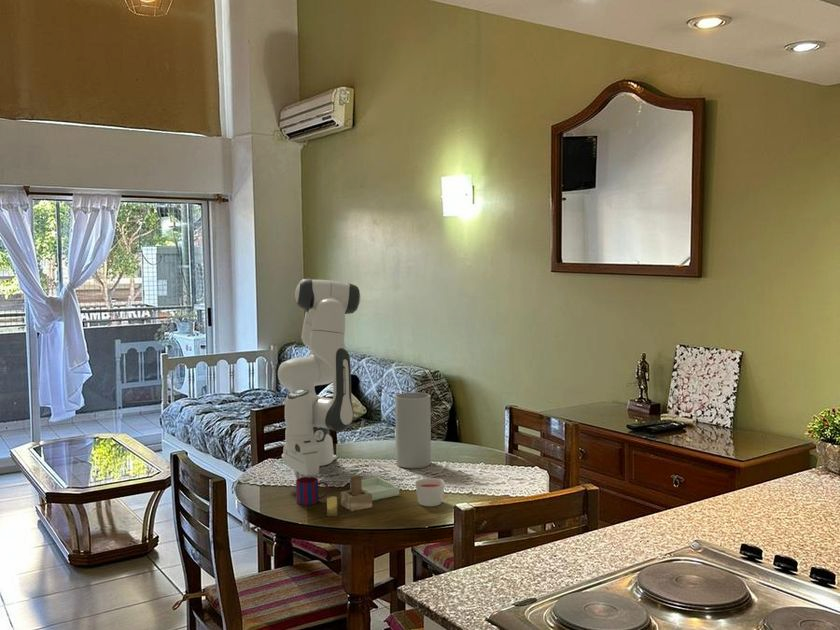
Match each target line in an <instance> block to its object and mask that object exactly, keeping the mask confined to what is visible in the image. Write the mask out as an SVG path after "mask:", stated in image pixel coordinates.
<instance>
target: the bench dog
mask: <svg viewBox="0 0 840 630" xmlns="http://www.w3.org/2000/svg"><path fill="white" fill-rule="evenodd" d="M326 516H328V517H330V516H333V517H336V516H338V497H337V496H328V497H326Z"/></svg>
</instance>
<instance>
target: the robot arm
mask: <svg viewBox="0 0 840 630" xmlns="http://www.w3.org/2000/svg"><path fill="white" fill-rule="evenodd" d="M294 298H295V301H296V305H297V307H299V308H301V309H303V310H304V311H305V314H304V317H303V318H304V319H303V325H302V330H301V331H302V332H301V341H302V343H303V345H304V346H305V347H307V348H309V350H310V353H309V355H307V356H301V357H299V356H298V357H293V358H290V359H288V360H285V361H283V362H281V363H280V365H279V366H278V370H277V378H278V382H279V383H280V384H281V385H282V387H283V388H285V389H286V390H288V392H289V393H288V394H287V395H286V398H285V403H284V421H285V425H286V427H285V431H284V432H285V433H284V434H285V435H284V437H285V438H284V439H285V443H284V444H283V450H282V451H283V453H282V454H281V458H282V459H283V464H284V465H285V466H287V467H289V468H290V469H293V472H294V476H295V479H296V480H297V479H299V478H302V477H308V478H310V477H315V478H317V477H318V476H319V474H320V467H323V466H327V465H329V464H331V463H333V462H334V460H336V459H337V458H338V456H337V455H336V454H334V445H333V444H334V443H333V437H332V436H331V435H329V432H330V431H334V432H338V433H341V432H343V431H345V430H347V429H348V428H349V427H350V425H352V423H353V421H354V416H355V415H354V413H355V412H354V406H353V401H352V369H351V368H352V367H351V366H352V365H351V357H350V354H349V352H348V350H347V348H346V344H345V332H346V315H350V314H354V313H355V312H357V310H358V308H359V306H360V302H361V292H360V289H359V287H358V286H357V285H356V284H352V283H346V282H342V281H338V280H332V279H329V280H327V279H312V278H302V279H301V280H300V281H299V282H298V284H297V285H296V288H295V291H294ZM331 383H332V385H333V387H332V388H333V391H332V392H333V396H332V398H330V397H329V398H328V397H323V396H319V395H318V394H317V393H316V389H315V388H316V386H323V385H329V384H331ZM296 480H295V481H296Z"/></svg>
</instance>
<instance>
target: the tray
mask: <svg viewBox="0 0 840 630" xmlns="http://www.w3.org/2000/svg"><path fill="white" fill-rule="evenodd" d="M349 483H350V484H349V487H350V488H349V490H351V481H350V482H349ZM361 484H362V489H364V490H366V491H368V492H369V493H371V494H372V501H377V500H380V499H381V500H382V499H387V498H390V497H396V496H400V487H399V486H397V485H396V484H393V483H392V482H390V481H388V480H386V479H384V478H382V477H380V476H376V477H370V478H366V479H365V478H364V479H361Z"/></svg>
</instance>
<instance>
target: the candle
mask: <svg viewBox="0 0 840 630" xmlns="http://www.w3.org/2000/svg"><path fill="white" fill-rule="evenodd" d="M414 484H415V489H416V496H417V500H418V501H417V502H418V504H419V505H421V506H423V507H436V506H439V505H441V504H442V501H443V497H444V490H445V484H446V481H444V480H443V479H440V478H433V477H432V478H430V477H429V478H420V479H418V480H416V481H415V482H414Z"/></svg>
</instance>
